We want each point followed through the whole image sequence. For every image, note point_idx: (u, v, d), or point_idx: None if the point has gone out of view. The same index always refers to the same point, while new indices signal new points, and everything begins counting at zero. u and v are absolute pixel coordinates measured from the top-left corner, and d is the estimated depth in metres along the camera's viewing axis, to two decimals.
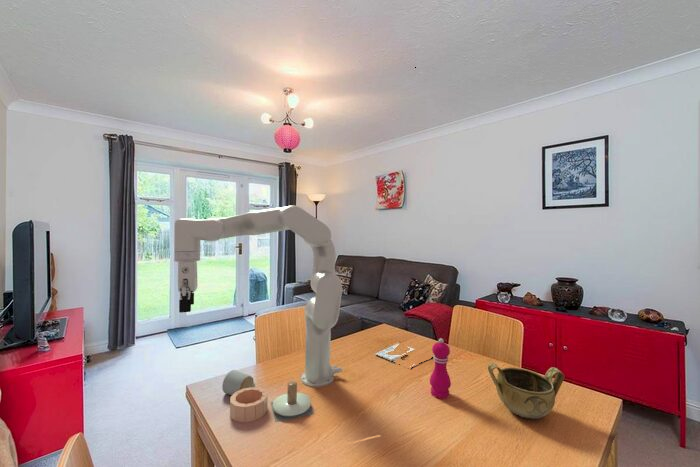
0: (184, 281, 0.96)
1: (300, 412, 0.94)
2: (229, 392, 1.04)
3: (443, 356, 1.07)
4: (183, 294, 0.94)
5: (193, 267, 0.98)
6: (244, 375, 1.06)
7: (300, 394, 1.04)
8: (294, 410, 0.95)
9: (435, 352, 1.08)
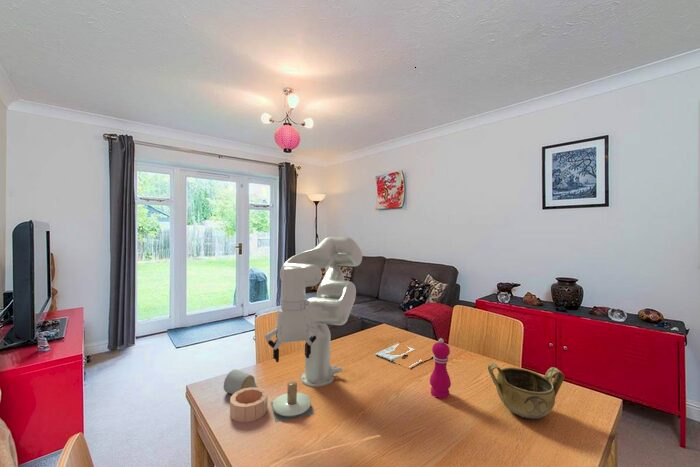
0: (310, 326, 1.00)
1: (300, 412, 0.94)
2: (230, 391, 1.05)
3: (443, 356, 1.07)
4: None
5: None
6: (245, 374, 1.07)
7: (300, 394, 1.04)
8: (294, 410, 0.95)
9: (435, 352, 1.08)
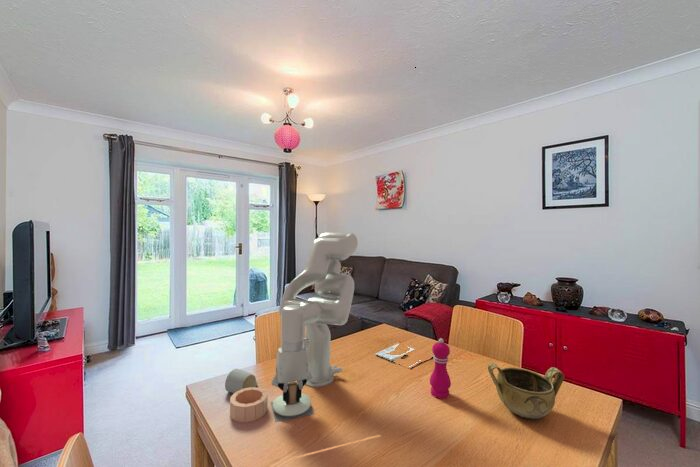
0: None
1: (300, 412, 0.94)
2: (232, 390, 1.05)
3: (443, 356, 1.07)
4: None
5: None
6: (246, 374, 1.07)
7: None
8: (294, 410, 0.95)
9: (435, 352, 1.08)
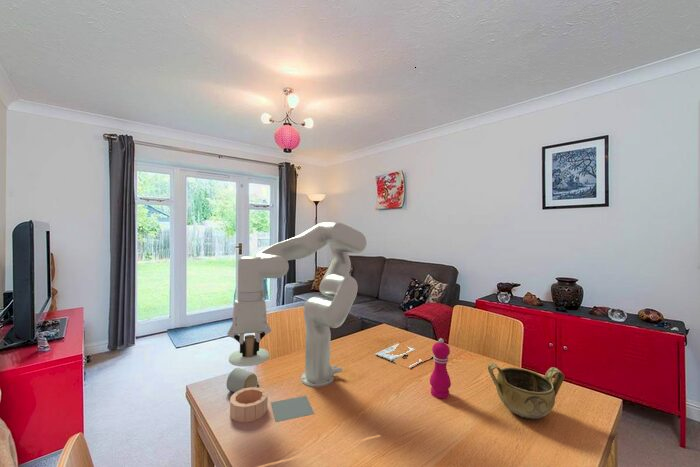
0: None
1: (255, 363, 0.92)
2: (233, 389, 1.06)
3: (443, 356, 1.07)
4: None
5: None
6: (248, 373, 1.08)
7: (260, 349, 1.01)
8: (249, 361, 0.92)
9: (435, 352, 1.08)
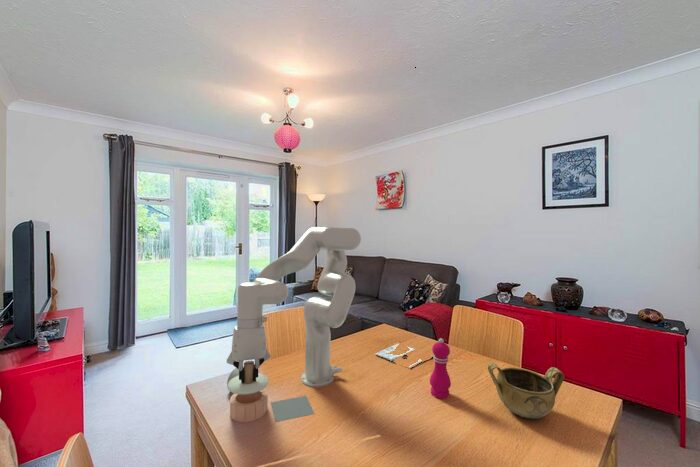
0: (265, 347, 0.98)
1: (254, 391, 0.92)
2: None
3: (443, 356, 1.07)
4: None
5: None
6: None
7: (259, 374, 1.01)
8: (248, 389, 0.92)
9: (435, 352, 1.08)
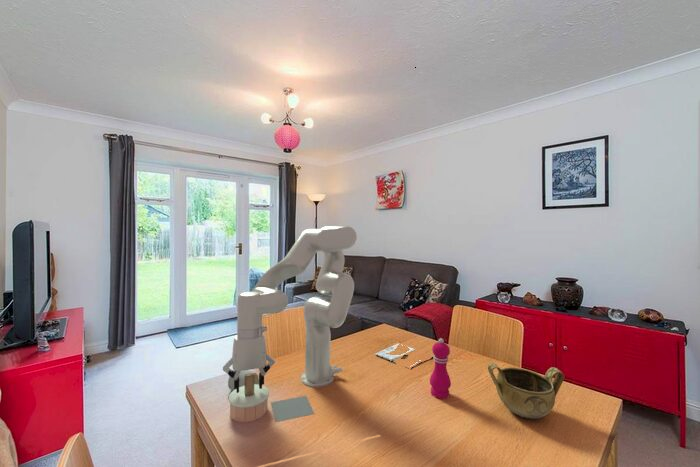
0: (267, 355, 0.99)
1: (255, 404, 0.92)
2: None
3: (443, 356, 1.07)
4: None
5: None
6: (249, 372, 1.09)
7: None
8: (249, 402, 0.93)
9: (435, 352, 1.08)
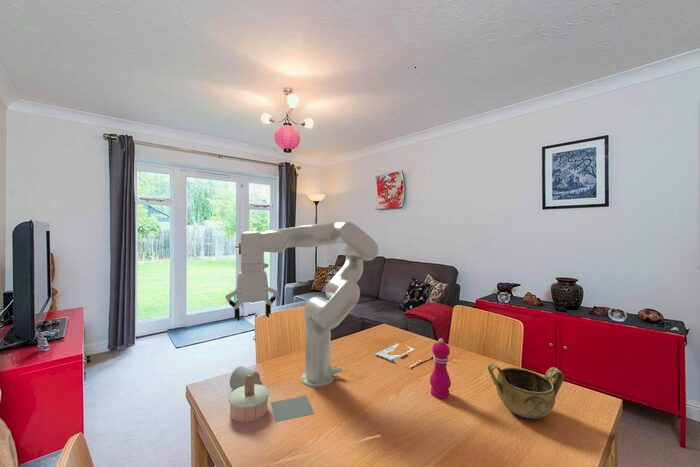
0: None
1: (255, 404, 0.92)
2: (236, 387, 1.07)
3: (443, 356, 1.07)
4: None
5: None
6: (251, 371, 1.09)
7: (260, 386, 1.02)
8: (249, 402, 0.93)
9: (435, 352, 1.08)
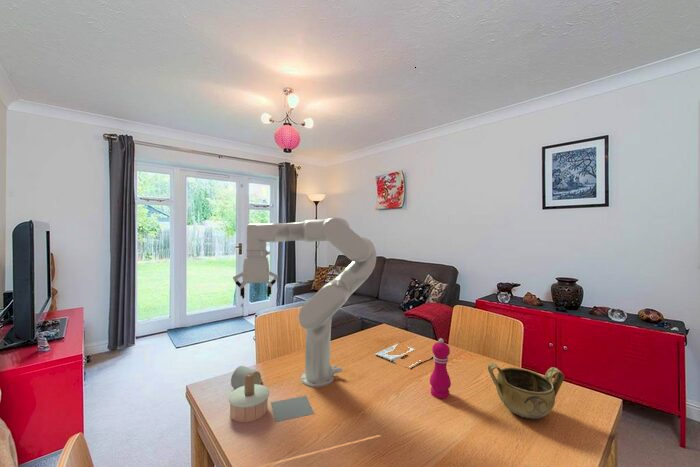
0: (270, 272, 1.25)
1: (255, 404, 0.92)
2: (237, 387, 1.08)
3: (443, 356, 1.07)
4: None
5: None
6: (252, 370, 1.10)
7: (260, 386, 1.02)
8: (249, 402, 0.93)
9: (435, 352, 1.08)
